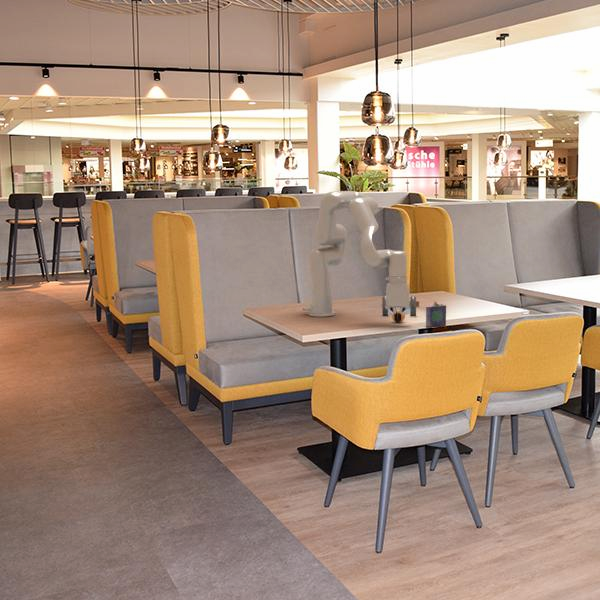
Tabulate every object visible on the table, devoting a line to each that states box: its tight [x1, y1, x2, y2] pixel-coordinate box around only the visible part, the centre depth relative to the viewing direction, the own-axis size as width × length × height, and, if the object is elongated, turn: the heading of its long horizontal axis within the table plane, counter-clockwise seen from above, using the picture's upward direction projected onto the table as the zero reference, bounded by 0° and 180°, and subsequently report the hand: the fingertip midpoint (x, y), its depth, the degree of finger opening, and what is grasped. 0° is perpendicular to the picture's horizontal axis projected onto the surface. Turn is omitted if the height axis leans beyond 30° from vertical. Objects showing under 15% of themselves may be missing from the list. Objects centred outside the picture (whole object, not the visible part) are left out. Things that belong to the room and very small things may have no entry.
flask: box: [425, 300, 447, 328], centre depth 336 cm, size 9×3×11 cm, turn 109°
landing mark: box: [388, 307, 410, 313], centre depth 377 cm, size 14×14×1 cm
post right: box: [409, 296, 417, 317], centre depth 362 cm, size 3×3×9 cm
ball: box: [391, 310, 406, 323], centre depth 347 cm, size 6×6×6 cm
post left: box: [381, 295, 389, 317], centre depth 364 cm, size 3×3×9 cm
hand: (397, 322), depth 339 cm, fingers closed
